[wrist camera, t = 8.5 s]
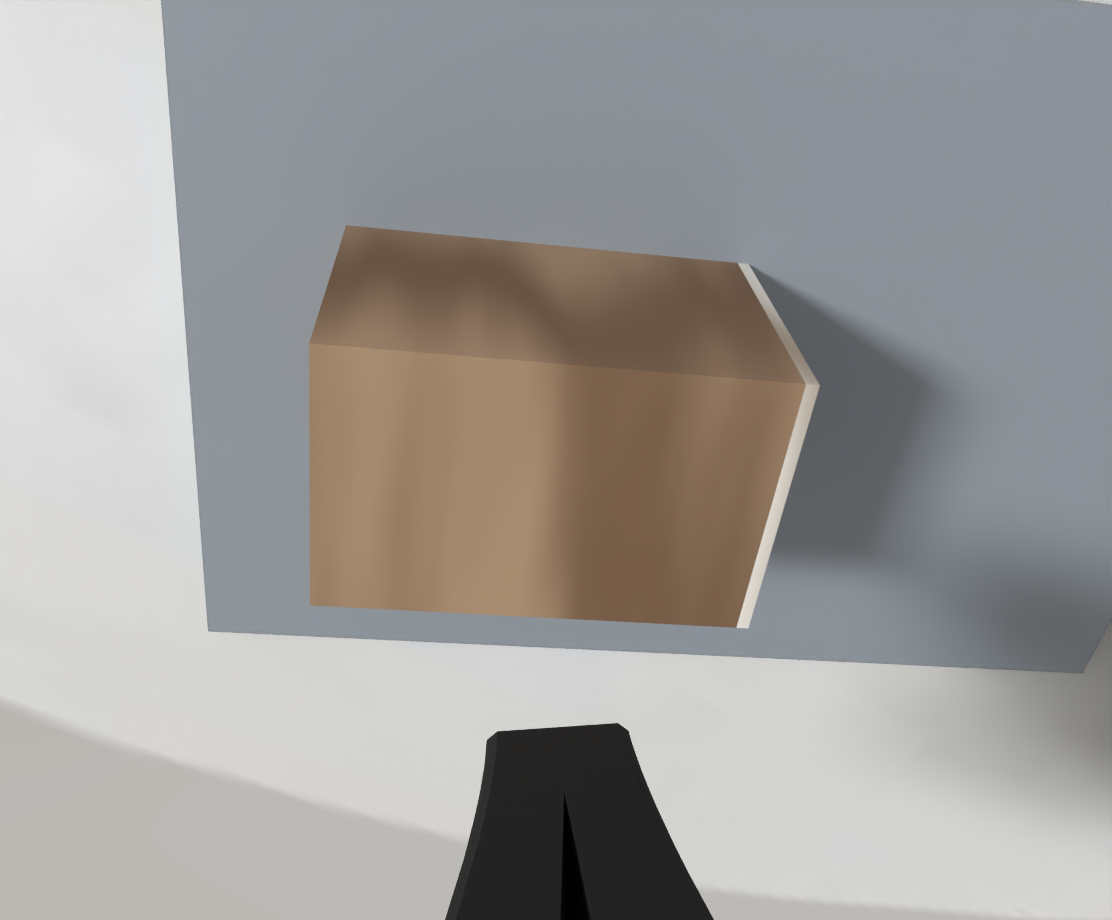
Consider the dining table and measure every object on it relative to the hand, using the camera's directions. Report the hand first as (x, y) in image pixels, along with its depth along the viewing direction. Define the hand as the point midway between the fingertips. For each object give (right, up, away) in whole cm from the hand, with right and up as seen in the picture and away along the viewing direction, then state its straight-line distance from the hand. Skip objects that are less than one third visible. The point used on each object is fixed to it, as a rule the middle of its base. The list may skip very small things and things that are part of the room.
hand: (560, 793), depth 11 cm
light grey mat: (+3, +5, +9) cm, 11 cm away
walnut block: (+3, +4, +7) cm, 8 cm away
